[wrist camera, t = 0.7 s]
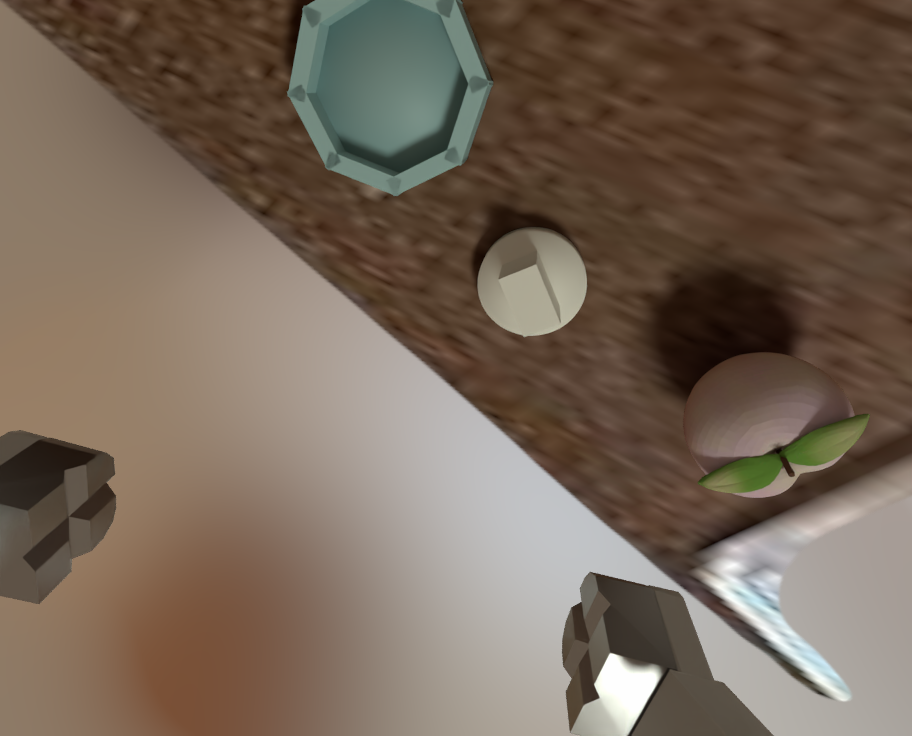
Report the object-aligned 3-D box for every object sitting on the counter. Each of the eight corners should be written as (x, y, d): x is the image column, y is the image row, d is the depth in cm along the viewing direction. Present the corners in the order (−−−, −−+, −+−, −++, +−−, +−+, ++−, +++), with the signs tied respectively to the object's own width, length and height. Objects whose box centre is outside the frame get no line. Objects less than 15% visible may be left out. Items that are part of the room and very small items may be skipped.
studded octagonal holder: (436, -64, 29) (427, -76, 27) (515, 136, 33) (512, 140, 31) (276, 39, 33) (256, 36, 31) (363, 210, 37) (351, 217, 34)
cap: (563, 208, 35) (565, 224, 31) (600, 305, 37) (606, 332, 33) (463, 251, 37) (452, 271, 33) (504, 340, 39) (499, 369, 36)
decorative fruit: (759, 295, 35) (828, 366, 26) (834, 379, 37) (922, 472, 28) (639, 383, 39) (664, 470, 30) (711, 455, 41) (755, 557, 32)
